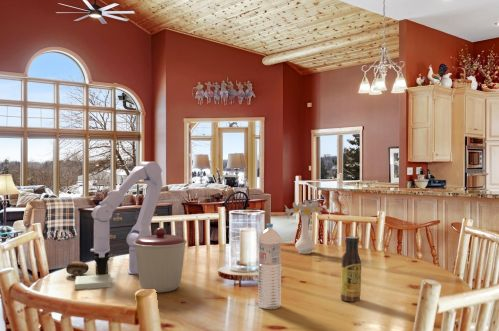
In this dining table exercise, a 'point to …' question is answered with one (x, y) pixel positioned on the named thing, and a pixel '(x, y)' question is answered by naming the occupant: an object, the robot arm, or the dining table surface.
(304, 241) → the flower vase
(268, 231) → the water bottle
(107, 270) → the walnut block
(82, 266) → the mushroom
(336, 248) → the dining table surface
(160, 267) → the canister
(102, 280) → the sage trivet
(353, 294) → the sauce bottle
